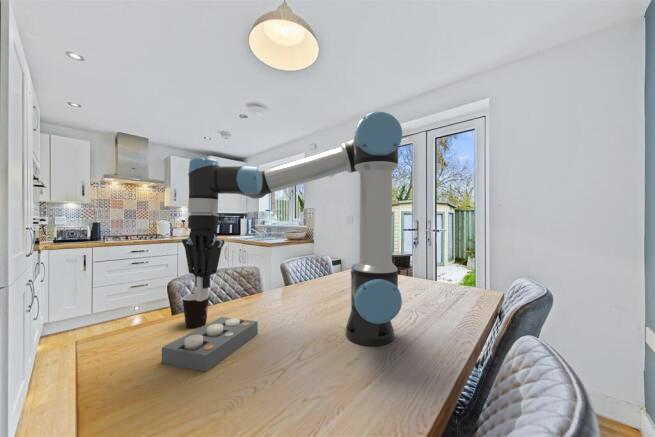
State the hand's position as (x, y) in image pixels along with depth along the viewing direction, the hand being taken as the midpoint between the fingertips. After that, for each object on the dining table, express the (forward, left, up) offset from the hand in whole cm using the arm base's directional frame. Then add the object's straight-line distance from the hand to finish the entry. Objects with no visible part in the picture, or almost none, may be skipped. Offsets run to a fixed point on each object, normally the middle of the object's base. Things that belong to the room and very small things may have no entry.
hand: (202, 299), depth 74 cm
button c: (-1, +4, -11) cm, 12 cm away
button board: (-1, -4, -15) cm, 16 cm away
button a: (-1, -12, -12) cm, 17 cm away
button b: (-1, -4, -11) cm, 12 cm away
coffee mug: (+17, -17, -15) cm, 29 cm away
